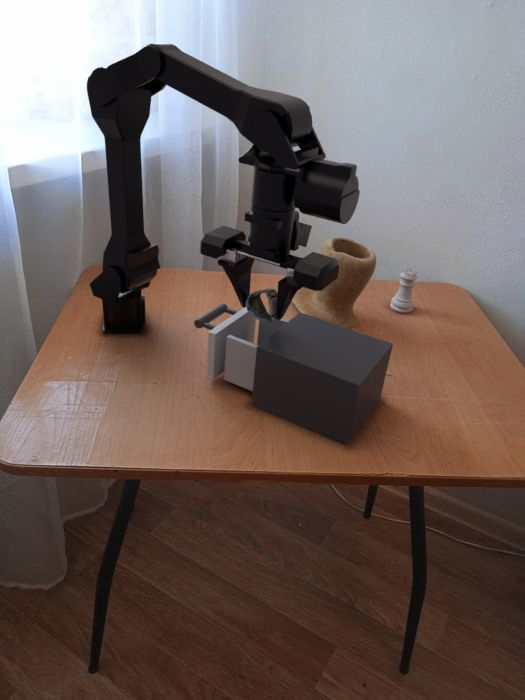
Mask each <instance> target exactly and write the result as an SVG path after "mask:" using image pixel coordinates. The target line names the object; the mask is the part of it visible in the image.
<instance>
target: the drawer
mask: <svg viewBox="0 0 525 700" xmlns="http://www.w3.org/2000/svg"><path fill="white" fill-rule="evenodd" d="M225 313H226V314H229V315H231V316H229V317H228V318H227V319H225V320H224V321H222V322H221V323H219V324H217V325H214V324H211V323H212V322H213V321H215V320H216V319H217V318H219V317H221V316H222V315H223V314H225ZM288 321H290V320H289V319H286V318H284V317H283V318H282V319H281V320H276V321H274V322H271V323H269V322H267V321H260V320H258V328H257V329H258V330H257V340H256V341H257V342H256V343H255V337H256V335H255V334H256V326H257V325H256V323H257V319H256V318H255V317H252V316H251V315H250V313H249V312H248V310H247V307H245V308H243V307H242V308H241V309H240V310H235V309H232V308H229V307H228V305H227V304H226V303H224V302H223V303H221V304H219V305H218V306H216V307H214V308H213V309H211V310H209V311H208V312H206V313H205V314H203V315H201V316H200V317H198V318H197V319H195V320H194V321H193V324H194V327H195V328H196V329H202V328H204V329H206V330H209V331H208V333H207V354H206V355H207V357H206V379H209V380H211V381H215V379H217V378H218V377H220V376H221V375H223V380H224V381H226V382H229V383H231V384H234V385H236V386H238V387H241V388H243V389H245V390H248V391H250V392H253V382H254V372H255V361H256V350H257V346H258V345H260V344H261V343H262V342H263V341H265V340H266V339H267V338H268V337H270V336H271V335H272V334H273V333H275V332H276V331H277V330H278V329H280V328H281V327H282V326H283V325H285V324H286V323H287V322H288Z"/></svg>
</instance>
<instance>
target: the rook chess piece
mask: <svg viewBox="0 0 525 700" xmlns="http://www.w3.org/2000/svg"><path fill="white" fill-rule="evenodd" d="M399 276H400V279H401V280H400V281H399V288H398V290H397V292H396V294H395V295H394V296H393V297H392V298H391V300H390V301H391V302H390V303H389V306H390V308H391V309H392V311H394V312H396V313H398V314H409V313H411V312H412V311H413V308H414V307H413V306H414V300H413V296H412V293H413V287H415V281H416V280H417V279H418V276H417V271H416V270H415V269H414V270H413V269H412V268H409V269H408V268H404V269H403V270H402V272H400V274H399Z"/></svg>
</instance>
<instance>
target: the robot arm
mask: <svg viewBox="0 0 525 700" xmlns="http://www.w3.org/2000/svg"><path fill="white" fill-rule="evenodd" d="M167 86H168V87H169V88H171V89H174V90H175V91H177V92H179V93H181V94H183V95H184V96H186V97H187V98H189V99H192V100H193V101H195V102H197V103H199V104H200V105H202V106H204V107H206V108H207V109H208V108H209V109H211V110H212V111H214V112H216V113H217V114H220V115H222V116H223V117H225V118H227V120H228V121H230V122H231V123H232V124H233V125H234V126H235V128H236V129H237V130H238V132H239V134H240V135H241V136H242V137H243V138H245V139H246V140H247V141H248V142H249V143H251V146H250V147H249V149H248V150H247V151H246V152H245V153H243V154H242V155H240V156H239V157H238V163H239V164H242V165H247V166H252V167H253V171H252V172H253V174H252V184H251V185H252V187H251V197H250V198H251V199H250V210H249V211H246V212H245V213H244V220H243V221H245V222H247V223H248V234H247V235H248V236H247V235H246V234H245V232H244V231H243V230H240V229H237V228H233V227H231V226H226V225H221V226H219V227H217V228H214V229H212V230H210V231H208V232H205V233H204V234H203V235H202V237H201V239H200V241H199V243H200V245H199V253H200V255H203V256H206V257H209V258H212V259H215V260H217V265H218V266H220V267H222V269H223V270H224V272H225V274H226V276H227V278H228V279H229V281H230V283H231V285H232V287H233V290H234V292H235V294H236V296H237V299H238V301H239V304H240V306H241V308H242V309H243V308H245V307H246V299H247V298H248V296H249V295H250V294H251V280H252V268H253V265H254V262H255V260H257V261H259V262H263V263H265V264H268V265H269V264H270V265H272V266H276V267H278V268H282V269H286V276H284V277H282V278H281V279H279V280H278V281H277V291H276V292H277V308H276V314H277V320H281V319H282V318H283V319H284V316H285V314H286V312H287V310H288V308H289V307H290V306H291V303H292V299H293V298H294V296H295V294H296V292H297V291H298V290H300V289H301V288H303V287H305V288H308V289H311V290H314V291H322V290H323V289H324V288H325V287H327V286H328V285H329V284H331V283H332V282H333V281H334V280H336V279H337V278H338V272H339V265H338V262H337V260H336V258H332V257H329V256H326V255H322V254H320V252H315V251H311V252H310V253H309V254H307V255H305V256H304V257H300V256H297V255H293V254H291V251H293V252H295V251H298V250H299V248H300V247H303V248H307V245H308V243H309V238H310V235H311V231H312V227H313V225H311V224H307V223H304V222H300V213H301V214H303V215H307V216H311V217H315V218H318V219H322V220H326V221H330V222H334V223H337V224H340V225H346V224H348V223H349V221H350V220H351V219H352V217H353V215H354V214H355V211H356V209H357V206H358V203H359V199H360V193H361V190H360V189H359V187H360V186H359V185H360V184H359V178H358V176H357V169H358V166H357V164H355V163H350V162H337V161H333V160H328V159H326V157H327V156H326V153H325V150H324V149H323V147H322V144H321V141H320V139H319V137H318V135H317V132H316V131H315V128H314V127H313V116H312V112H311V108H310V105H308V103H307V102H306V101H305V100H304V99H302V98H300V97H297V96H294V95H290V94H286V93H282V92H279V91H275V90H268V89H263V88H259V87H254V86H251V85H249V84H247V83H244V82H242V81H241V80H239V79H236V78H235V77H233V76H231V75H229V74H228V73H226V72H223V71H221V70H219V69H218V68H215V67H214V66H211V65H210V64H208V63H206V62H204V61H201V60H200V59H198V58H196V57H194V56H192V55H190V54H188V53H186V52H185V51H183V50H181V49H180V48H179V47H178V46H176V44H173V43H148V44H146V46H143V47H142V48H140V49H139V50H138V51H136V52H135V53H133V54H131V55H128V56H126V57H124V58H122V59H120V60H117V61H115V62H113V63H111V64H109V65H107V66H101V67H96V68H95V69H94V70H92V72H91V73H90V75H88V76H87V80H86V93H87V98H88V103H89V109H90V114H91V117H92V120H93V121H94V123H95V124H96V126H97V127H98V129H99V130H100V133H101V134H102V135H103V138H104V148H105V149H104V150H105V160H106V162H105V163H106V164H105V165H106V175H107V187H108V189H107V190H108V204H109V215H110V216H109V217H110V218H109V219H110V229H111V230H110V232H111V233H110V237H109V239H108V241H107V244H106V246H105V249H104V251H103V254H102V267H101V268H102V269H101V272H100V273H99V274H98V275H97V276H96V277H95V278H94V279H92V281H91V282H90V283H89V287H90V290H91V294H92V295H93V297H96V298H98V299H101V304H102V315H103V316H102V317H103V322H102V323H103V324H102V333H104V334H121V333H122V334H131V333H134V334H135V333H136V334H137V333H138V334H139V333H140V334H141V333H143V332H144V325H146V323H147V322H146V321H147V318H146V317H147V316H146V315H147V314H146V296H145V295H142V290H144V289H147V288H149V287H150V285H151V283H152V281H153V279H155V278H156V276H157V274H158V270H159V269H161V265H160V261H159V254H160V253H159V252H160V248H159V245H158V244H152V243H151V241H150V239H149V238H148V237H147V235H146V233H145V217H144V214H145V213H144V193H143V171H142V170H143V169H142V168H143V167H142V146H141V137H142V134H143V132H144V130H145V127H146V125H147V123H148V120H149V118H150V115H151V106H152V105H151V104H152V97H154V96H155V95H157V94H158V93H160V92H161V91H163V90H164V89H165V88H166V87H167ZM296 147H298V148H299V149H297V150H294V148H296ZM296 209H298V210H299V211H298V210H296ZM219 258H220V259H219Z"/></svg>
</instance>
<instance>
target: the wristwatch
mask: <svg viewBox="0 0 525 700" xmlns="http://www.w3.org/2000/svg"><path fill="white" fill-rule="evenodd" d="M277 292H278V291H277V290H276V289H275V288H265V289H260V290H255V291H254V292H252V293H251V292H250V295H249V296H248V298H247V299H246V307H247V310H248V312H249V313H250V315H251V316H252V317H255V318H256V321H257V320H258V321H259V320H260V321H267V322H269V323H271V322H274V321H276V320H277V314H276V308H277ZM262 294H265V295H266V299H267V303H268V309H269V310H268V311H267V308H266V306H265V304H264V302H263V300H262V296H261V295H262Z"/></svg>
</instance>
